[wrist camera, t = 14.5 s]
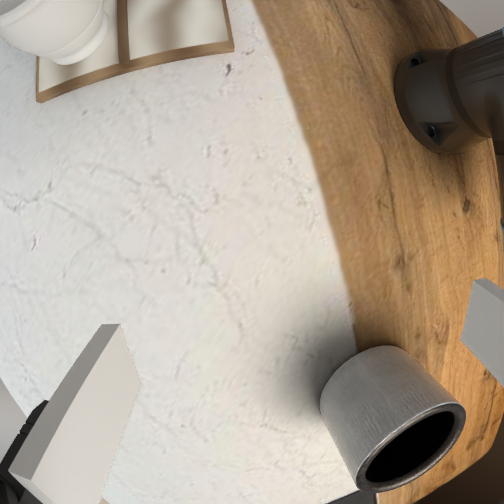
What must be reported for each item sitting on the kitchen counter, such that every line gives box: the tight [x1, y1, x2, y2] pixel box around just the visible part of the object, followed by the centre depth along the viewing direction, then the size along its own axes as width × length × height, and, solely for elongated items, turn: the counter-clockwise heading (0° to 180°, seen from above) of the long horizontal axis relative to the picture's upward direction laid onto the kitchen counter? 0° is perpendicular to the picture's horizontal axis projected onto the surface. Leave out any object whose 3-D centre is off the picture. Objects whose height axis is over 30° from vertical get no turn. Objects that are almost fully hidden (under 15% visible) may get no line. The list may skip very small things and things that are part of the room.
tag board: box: [36, 0, 234, 103], centre depth 25 cm, size 24×16×4 cm, turn 99°
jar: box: [0, 0, 109, 65], centre depth 18 cm, size 11×10×15 cm
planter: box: [320, 345, 466, 493], centre depth 34 cm, size 16×16×16 cm
